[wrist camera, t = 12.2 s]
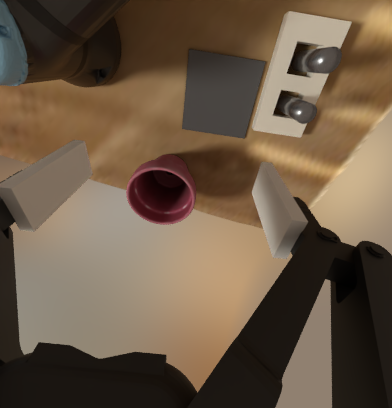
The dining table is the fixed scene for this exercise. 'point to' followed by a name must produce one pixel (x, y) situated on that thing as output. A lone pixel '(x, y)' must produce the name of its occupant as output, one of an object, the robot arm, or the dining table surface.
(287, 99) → the seated peg
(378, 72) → the dining table surface
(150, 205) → the plant pot
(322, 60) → the peg
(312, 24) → the hole board
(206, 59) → the mat
